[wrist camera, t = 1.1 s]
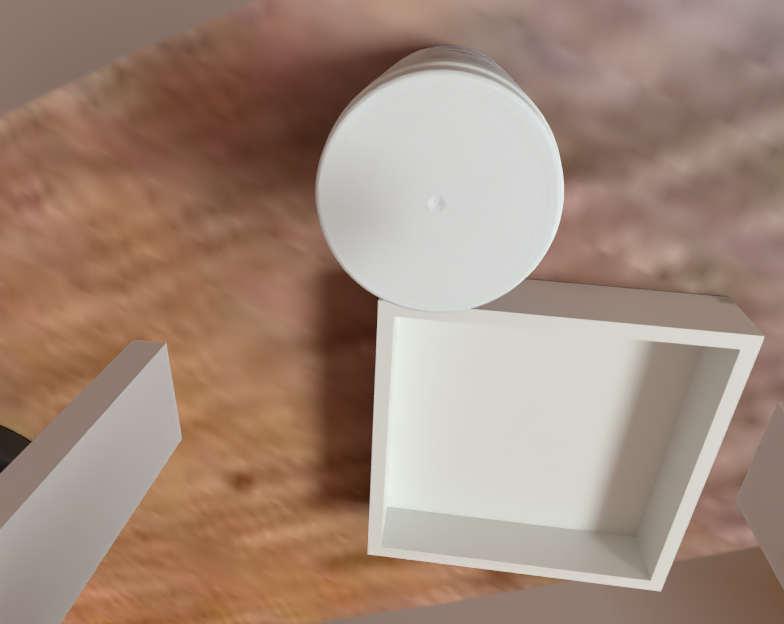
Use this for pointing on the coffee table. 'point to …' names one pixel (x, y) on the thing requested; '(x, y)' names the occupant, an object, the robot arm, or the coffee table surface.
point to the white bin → (553, 428)
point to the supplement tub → (440, 183)
